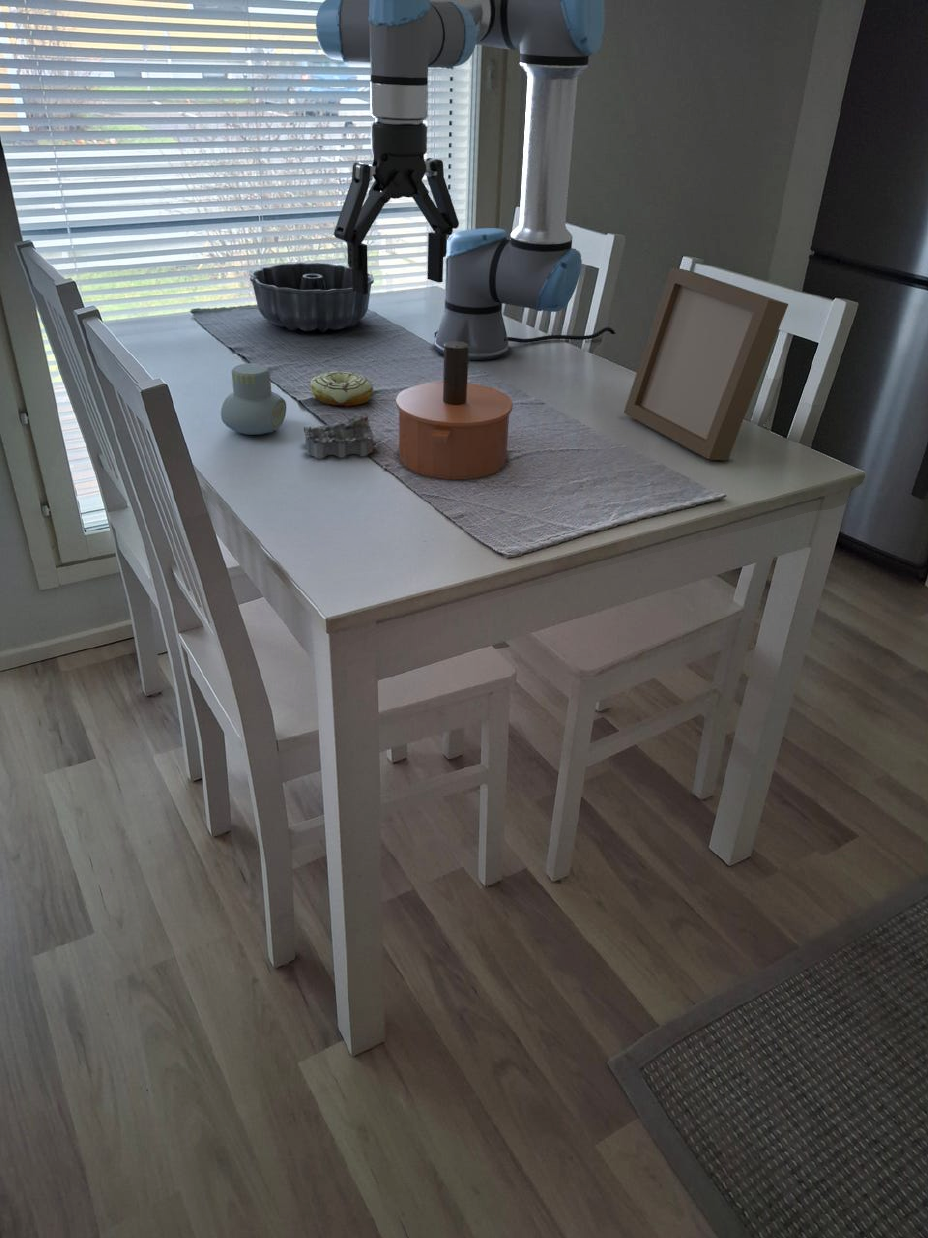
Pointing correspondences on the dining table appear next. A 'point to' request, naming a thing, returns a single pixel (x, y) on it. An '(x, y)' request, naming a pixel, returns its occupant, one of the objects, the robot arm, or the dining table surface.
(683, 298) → the photo frame
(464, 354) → the lid
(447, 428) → the pot
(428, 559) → the dining table surface
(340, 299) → the bundt pan
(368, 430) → the egg carton
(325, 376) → the decorated donut
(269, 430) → the air freshener
